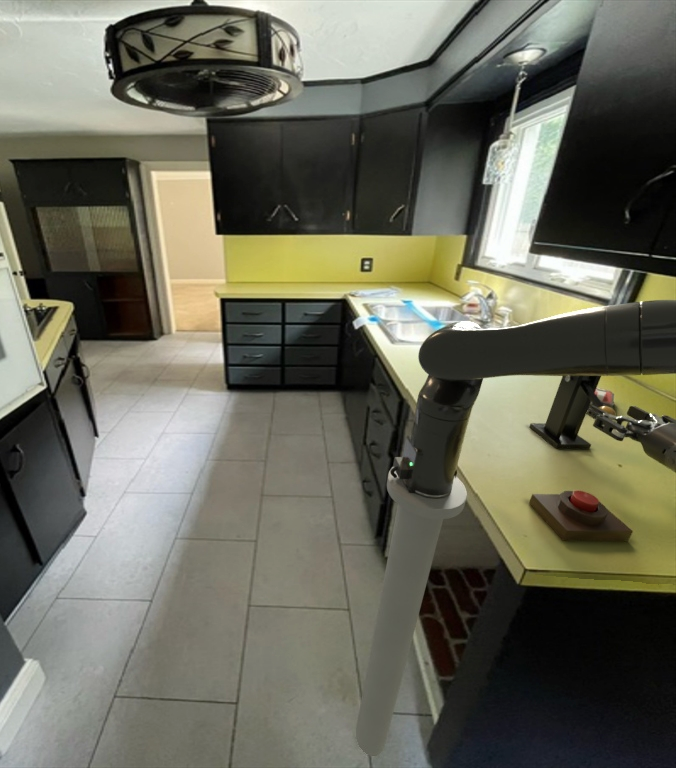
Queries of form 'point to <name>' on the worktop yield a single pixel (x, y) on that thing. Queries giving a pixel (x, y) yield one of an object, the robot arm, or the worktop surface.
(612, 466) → the worktop surface
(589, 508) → the release button
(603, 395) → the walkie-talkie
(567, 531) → the button base
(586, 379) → the latch lever
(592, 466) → the worktop surface
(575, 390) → the bracket
